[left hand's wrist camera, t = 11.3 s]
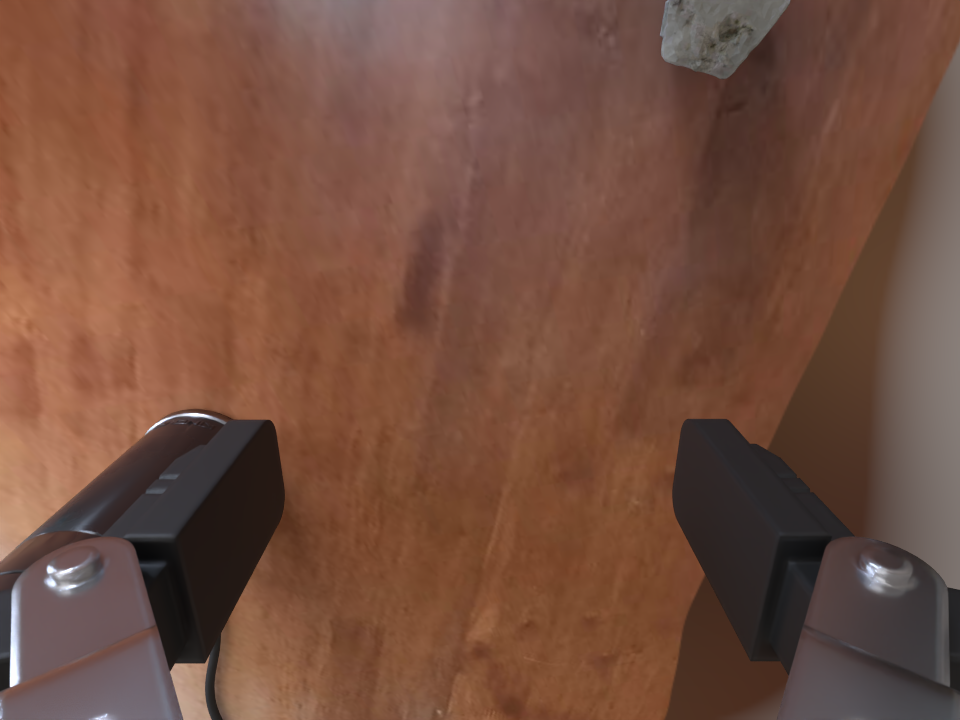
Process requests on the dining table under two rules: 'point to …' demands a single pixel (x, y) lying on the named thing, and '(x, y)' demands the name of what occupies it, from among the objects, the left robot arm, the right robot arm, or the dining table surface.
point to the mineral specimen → (716, 32)
